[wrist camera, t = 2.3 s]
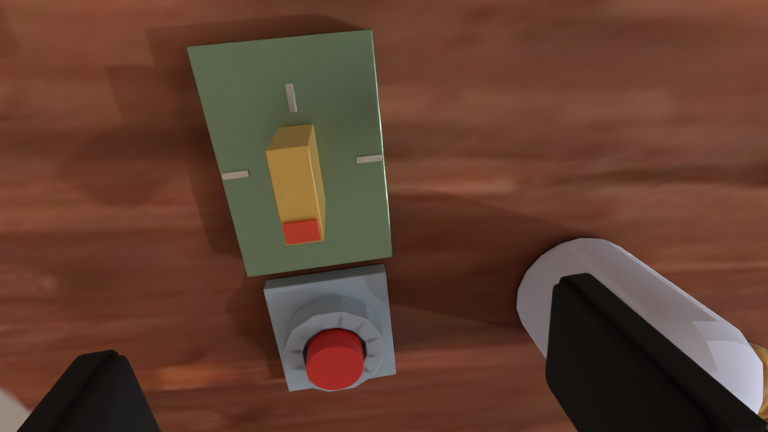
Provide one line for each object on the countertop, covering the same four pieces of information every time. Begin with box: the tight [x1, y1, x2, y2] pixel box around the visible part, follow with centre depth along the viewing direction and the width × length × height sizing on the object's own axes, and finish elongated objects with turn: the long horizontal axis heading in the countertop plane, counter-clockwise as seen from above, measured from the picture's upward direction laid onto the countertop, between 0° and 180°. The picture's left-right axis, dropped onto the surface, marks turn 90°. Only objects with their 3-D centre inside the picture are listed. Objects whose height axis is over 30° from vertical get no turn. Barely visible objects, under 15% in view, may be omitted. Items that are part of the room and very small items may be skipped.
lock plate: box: [186, 29, 393, 277], centre depth 23 cm, size 13×9×2 cm
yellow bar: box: [265, 124, 326, 246], centre depth 19 cm, size 4×2×5 cm, turn 5°
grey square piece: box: [264, 264, 396, 391], centre depth 27 cm, size 9×8×3 cm
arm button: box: [306, 328, 364, 390], centre depth 26 cm, size 4×4×2 cm
